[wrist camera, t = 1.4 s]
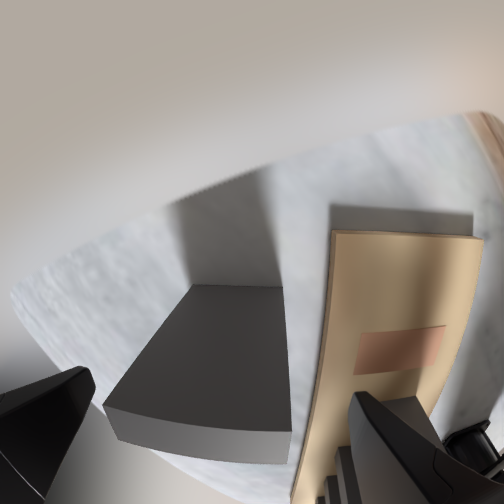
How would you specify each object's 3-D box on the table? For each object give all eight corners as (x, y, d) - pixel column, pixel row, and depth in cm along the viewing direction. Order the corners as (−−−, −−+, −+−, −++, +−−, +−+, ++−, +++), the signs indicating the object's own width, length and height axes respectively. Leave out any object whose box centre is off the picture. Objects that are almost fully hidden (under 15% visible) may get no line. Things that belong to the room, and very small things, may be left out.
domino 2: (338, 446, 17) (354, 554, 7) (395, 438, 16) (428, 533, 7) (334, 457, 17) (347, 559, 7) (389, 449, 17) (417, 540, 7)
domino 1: (193, 284, 16) (102, 404, 6) (282, 287, 15) (291, 431, 6) (195, 310, 16) (118, 439, 6) (281, 313, 16) (286, 464, 6)
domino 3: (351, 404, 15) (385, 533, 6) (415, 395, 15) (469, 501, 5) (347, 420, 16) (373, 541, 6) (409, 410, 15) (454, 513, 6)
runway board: (473, 236, 14) (484, 240, 12) (375, 489, 20) (377, 496, 19) (331, 229, 14) (336, 233, 13) (290, 498, 21) (290, 507, 20)
